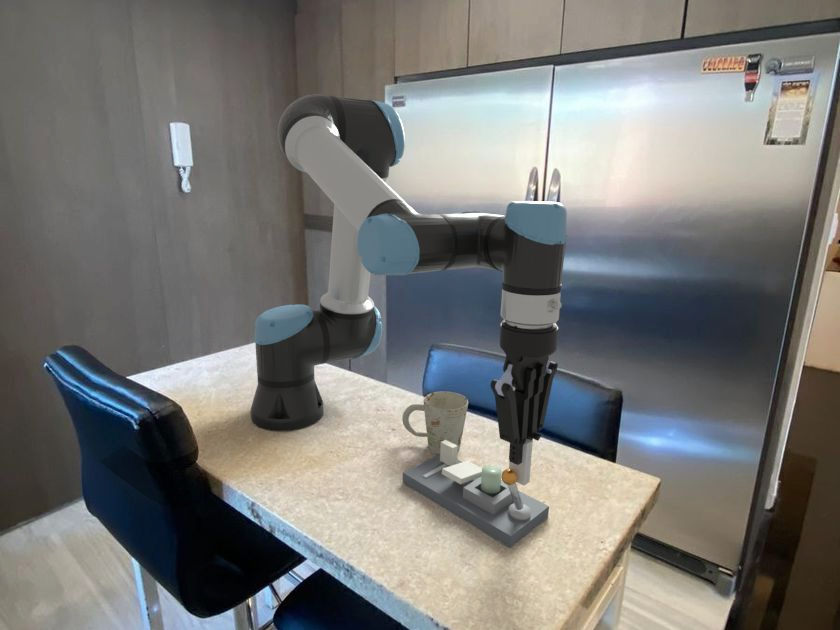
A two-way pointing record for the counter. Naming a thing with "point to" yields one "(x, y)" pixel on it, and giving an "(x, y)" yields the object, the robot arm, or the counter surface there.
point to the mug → (440, 418)
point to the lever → (512, 487)
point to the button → (491, 479)
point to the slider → (448, 453)
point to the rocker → (462, 472)
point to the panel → (477, 502)
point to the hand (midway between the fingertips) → (518, 479)
